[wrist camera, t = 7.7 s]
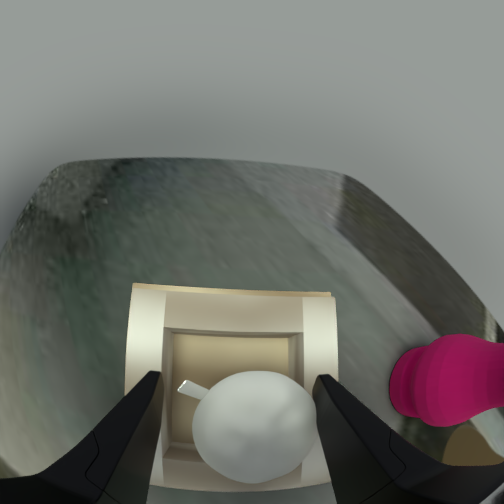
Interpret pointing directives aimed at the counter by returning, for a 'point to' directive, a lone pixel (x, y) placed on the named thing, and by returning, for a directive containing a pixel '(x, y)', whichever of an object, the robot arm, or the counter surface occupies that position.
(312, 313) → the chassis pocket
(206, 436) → the milkshake
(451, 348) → the pepper mill
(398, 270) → the counter surface
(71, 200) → the counter surface
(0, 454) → the counter surface
